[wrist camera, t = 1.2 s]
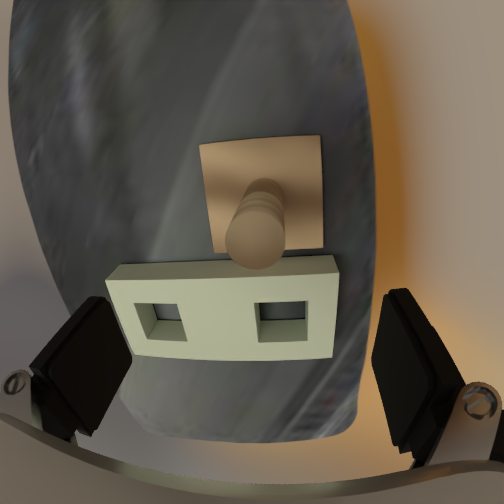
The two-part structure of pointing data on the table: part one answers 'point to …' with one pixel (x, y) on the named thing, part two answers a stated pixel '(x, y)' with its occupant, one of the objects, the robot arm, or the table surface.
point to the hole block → (227, 308)
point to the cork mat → (269, 167)
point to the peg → (257, 227)
